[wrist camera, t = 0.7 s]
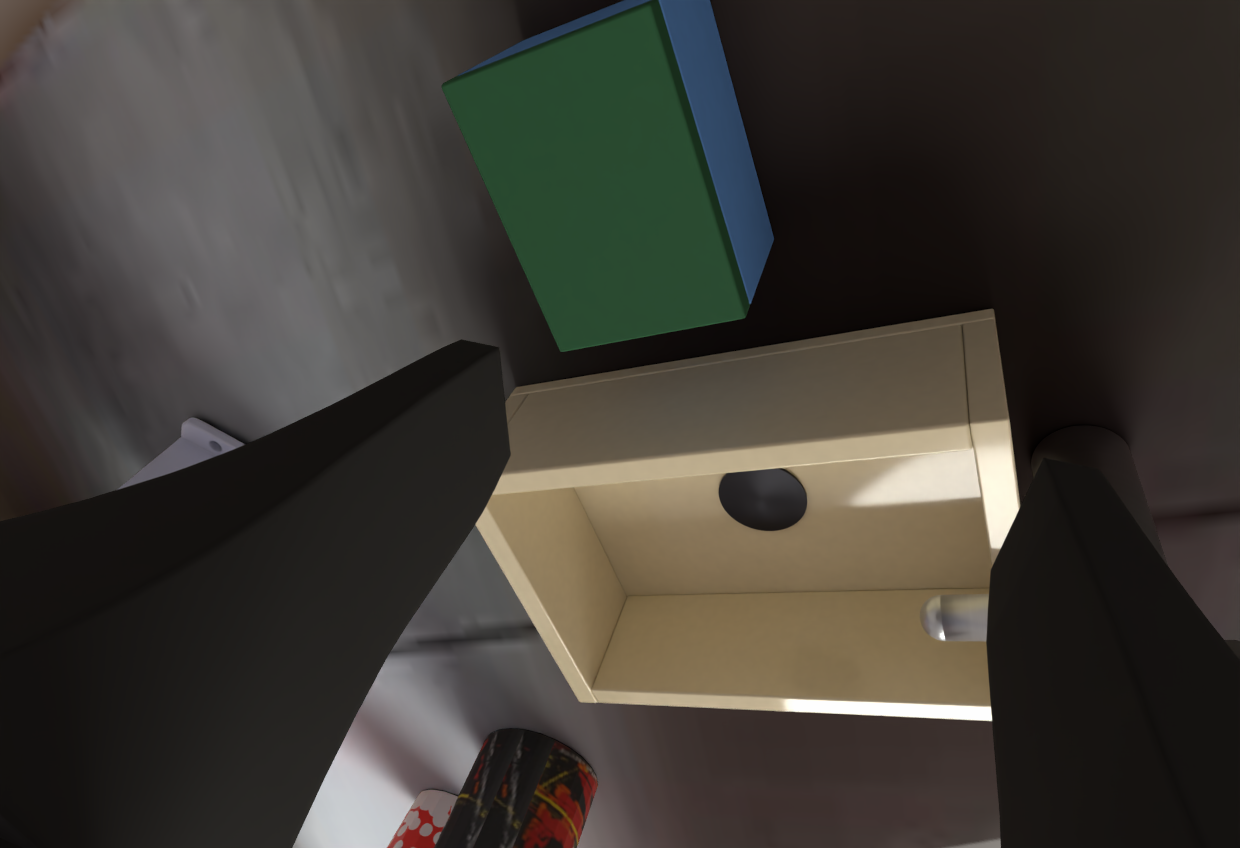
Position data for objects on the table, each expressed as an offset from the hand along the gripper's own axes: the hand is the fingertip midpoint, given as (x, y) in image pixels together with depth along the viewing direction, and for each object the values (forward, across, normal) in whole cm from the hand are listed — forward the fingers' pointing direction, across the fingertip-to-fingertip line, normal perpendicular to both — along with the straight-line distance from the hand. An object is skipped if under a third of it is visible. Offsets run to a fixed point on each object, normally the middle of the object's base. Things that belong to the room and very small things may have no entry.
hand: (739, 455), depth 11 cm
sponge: (+10, +4, -1) cm, 10 cm away
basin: (+9, 0, +9) cm, 13 cm away
